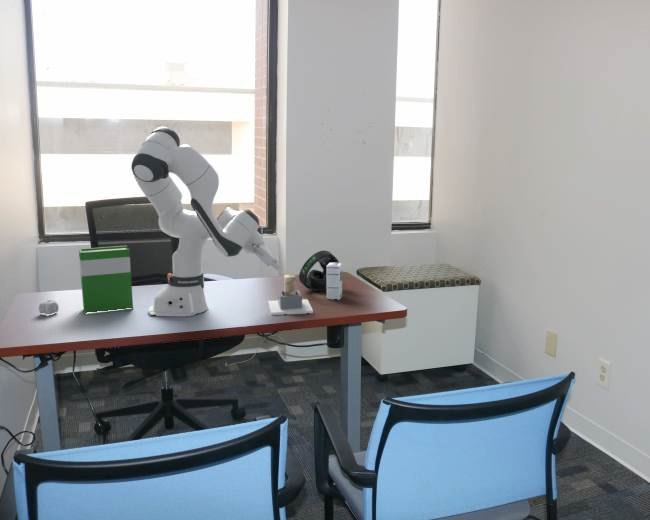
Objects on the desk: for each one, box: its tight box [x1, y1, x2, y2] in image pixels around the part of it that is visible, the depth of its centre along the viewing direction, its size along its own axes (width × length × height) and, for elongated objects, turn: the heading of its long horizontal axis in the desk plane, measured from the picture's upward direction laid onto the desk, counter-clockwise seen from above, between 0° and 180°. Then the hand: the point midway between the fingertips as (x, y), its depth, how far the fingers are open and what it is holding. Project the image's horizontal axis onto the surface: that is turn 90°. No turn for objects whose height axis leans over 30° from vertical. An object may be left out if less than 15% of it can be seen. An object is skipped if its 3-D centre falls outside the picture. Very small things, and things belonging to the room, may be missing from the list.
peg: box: [283, 274, 297, 296], centre depth 244 cm, size 4×4×12 cm
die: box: [38, 299, 60, 314], centre depth 236 cm, size 5×5×5 cm
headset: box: [298, 250, 340, 292], centre depth 273 cm, size 18×14×29 cm
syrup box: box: [326, 262, 343, 301], centre depth 259 cm, size 6×6×14 cm
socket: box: [267, 289, 314, 316], centre depth 245 cm, size 16×16×6 cm
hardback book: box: [78, 245, 134, 314], centre depth 240 cm, size 18×7×24 cm, turn 114°
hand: (277, 266), depth 242 cm, fingers open, 8 cm apart
